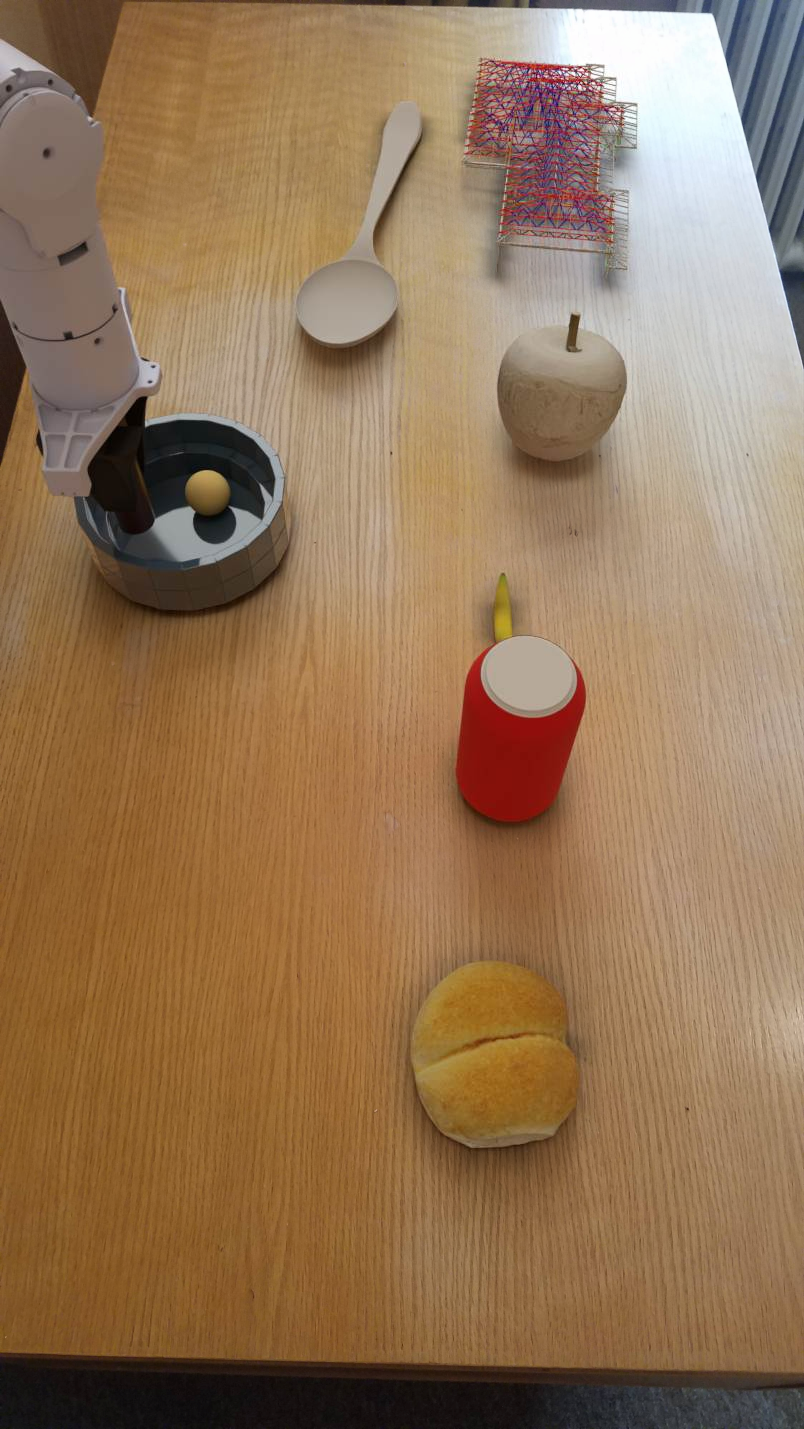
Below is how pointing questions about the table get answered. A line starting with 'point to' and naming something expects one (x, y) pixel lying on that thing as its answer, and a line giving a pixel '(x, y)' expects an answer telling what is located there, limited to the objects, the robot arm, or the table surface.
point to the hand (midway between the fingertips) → (124, 489)
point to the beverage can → (518, 727)
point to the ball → (207, 492)
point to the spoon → (361, 255)
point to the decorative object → (560, 390)
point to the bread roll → (494, 1056)
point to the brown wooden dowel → (144, 512)
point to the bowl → (195, 518)
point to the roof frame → (595, 165)
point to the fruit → (502, 611)
